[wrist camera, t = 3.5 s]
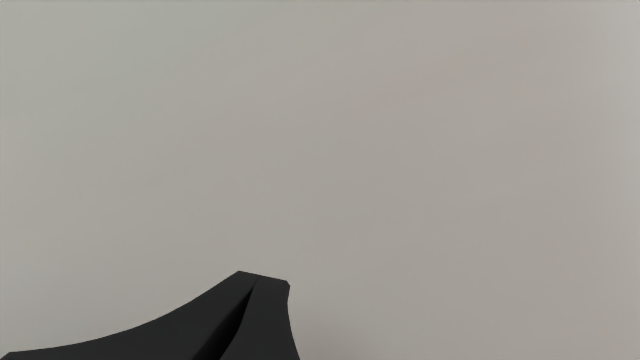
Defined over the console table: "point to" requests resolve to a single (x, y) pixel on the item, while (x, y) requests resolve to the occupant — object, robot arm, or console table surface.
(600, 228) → the console table surface
